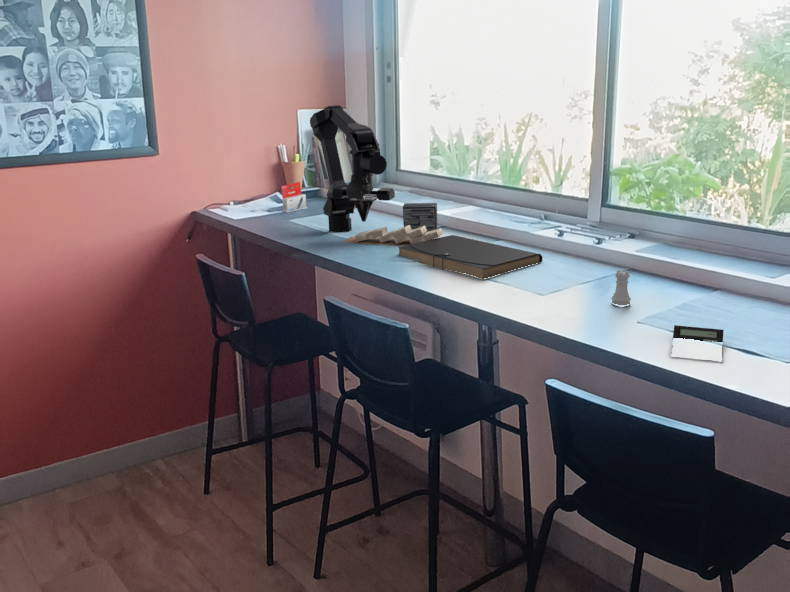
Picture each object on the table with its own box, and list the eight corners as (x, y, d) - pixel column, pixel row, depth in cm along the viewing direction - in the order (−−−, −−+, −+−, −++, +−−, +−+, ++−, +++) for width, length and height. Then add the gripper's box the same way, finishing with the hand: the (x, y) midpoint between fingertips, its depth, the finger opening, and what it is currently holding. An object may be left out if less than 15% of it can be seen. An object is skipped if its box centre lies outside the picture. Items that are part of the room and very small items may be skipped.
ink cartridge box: (306, 207, 308) (305, 181, 305) (287, 213, 299) (285, 186, 296) (301, 207, 309) (300, 181, 306) (282, 212, 300) (280, 186, 297)
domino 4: (409, 239, 244) (436, 231, 240) (414, 235, 248) (441, 228, 244) (411, 244, 244) (438, 237, 240) (415, 241, 248) (442, 233, 245)
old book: (397, 245, 232) (456, 232, 247) (397, 259, 233) (456, 246, 248) (483, 267, 208) (542, 251, 223) (482, 282, 209) (542, 265, 224)
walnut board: (342, 245, 249) (341, 242, 249) (351, 239, 257) (351, 236, 256) (410, 248, 243) (410, 246, 242) (418, 242, 250) (418, 239, 250)
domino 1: (361, 238, 254) (388, 232, 250) (356, 241, 249) (383, 236, 246) (360, 232, 253) (386, 227, 250) (354, 236, 249) (381, 230, 246)
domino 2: (378, 237, 247) (404, 228, 243) (384, 234, 251) (409, 224, 247) (381, 243, 247) (406, 233, 243) (386, 239, 251) (411, 230, 248)
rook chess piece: (627, 308, 185) (629, 275, 182) (608, 306, 187) (610, 272, 185) (633, 303, 188) (635, 270, 186) (614, 300, 191) (616, 267, 188)
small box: (438, 234, 260) (437, 202, 256) (437, 239, 253) (436, 206, 250) (405, 234, 261) (404, 202, 258) (403, 239, 255) (402, 206, 251)
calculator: (670, 358, 157) (671, 344, 156) (673, 338, 167) (674, 324, 166) (722, 364, 154) (723, 349, 153) (722, 343, 164) (723, 329, 163)
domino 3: (394, 238, 245) (420, 228, 241) (399, 234, 249) (424, 225, 246) (396, 244, 245) (422, 234, 242) (401, 240, 250) (427, 230, 246)
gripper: (322, 173, 240) (325, 225, 245) (382, 175, 234) (384, 228, 239) (337, 168, 250) (339, 218, 255) (394, 169, 244) (396, 220, 249)
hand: (363, 221), depth 249 cm, fingers closed
